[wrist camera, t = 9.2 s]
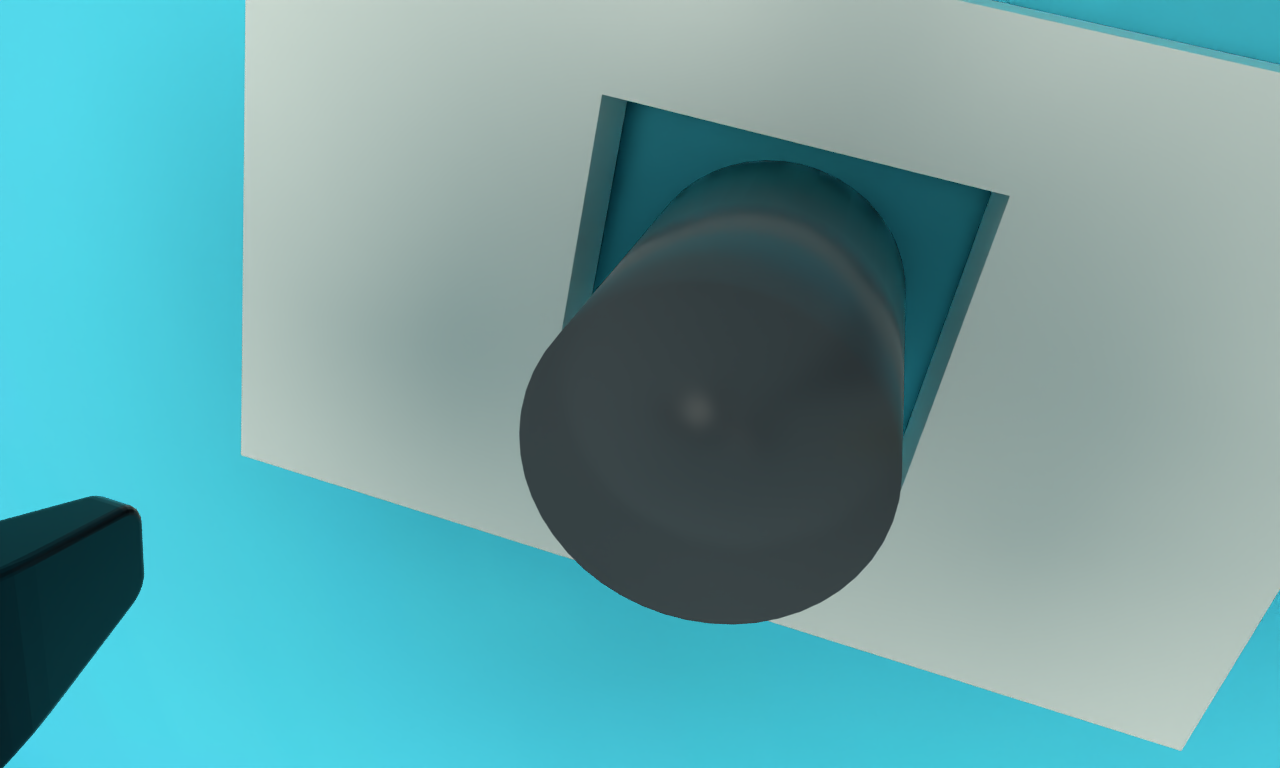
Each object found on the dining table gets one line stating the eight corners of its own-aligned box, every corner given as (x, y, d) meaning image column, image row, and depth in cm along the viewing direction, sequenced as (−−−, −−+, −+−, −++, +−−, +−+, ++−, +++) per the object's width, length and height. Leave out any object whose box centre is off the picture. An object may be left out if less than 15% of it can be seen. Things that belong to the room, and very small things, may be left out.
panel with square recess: (1484, 110, 16) (1556, 135, 14) (1158, 681, 21) (1181, 750, 19) (311, -153, 18) (247, -161, 17) (291, 415, 24) (241, 454, 22)
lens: (942, 199, 18) (959, 345, 12) (860, 443, 21) (838, 669, 14) (667, 130, 19) (547, 234, 13) (618, 374, 21) (497, 561, 15)
